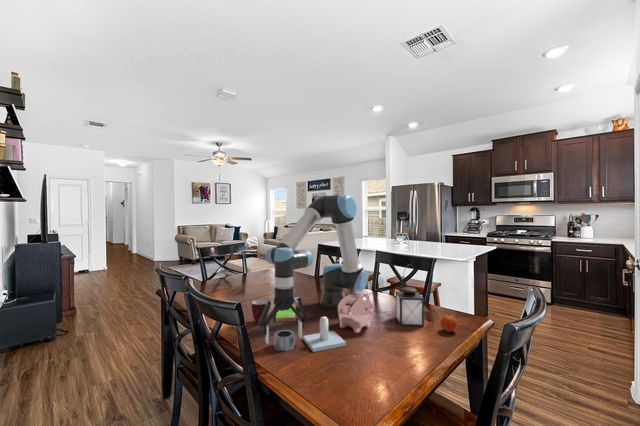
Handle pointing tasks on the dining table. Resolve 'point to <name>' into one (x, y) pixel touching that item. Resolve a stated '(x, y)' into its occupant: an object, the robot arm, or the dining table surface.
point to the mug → (258, 309)
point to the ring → (284, 340)
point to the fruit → (449, 323)
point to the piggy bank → (355, 311)
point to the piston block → (324, 338)
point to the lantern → (409, 307)
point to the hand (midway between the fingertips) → (284, 339)
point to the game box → (286, 315)
